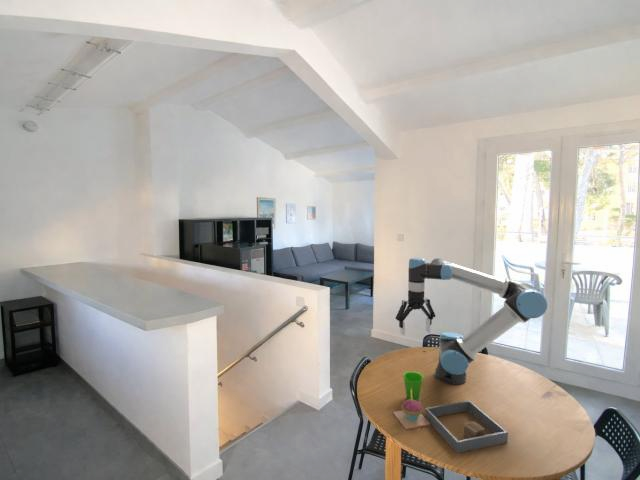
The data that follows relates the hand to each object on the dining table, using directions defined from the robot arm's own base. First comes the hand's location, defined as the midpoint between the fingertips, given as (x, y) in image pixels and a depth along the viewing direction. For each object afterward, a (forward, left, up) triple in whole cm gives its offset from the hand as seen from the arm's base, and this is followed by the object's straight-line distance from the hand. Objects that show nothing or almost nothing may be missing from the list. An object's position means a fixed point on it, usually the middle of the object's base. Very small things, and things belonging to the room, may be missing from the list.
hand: (415, 332), depth 166 cm
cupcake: (+15, +24, -26) cm, 39 cm away
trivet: (+15, +24, -27) cm, 39 cm away
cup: (+7, +11, -27) cm, 30 cm away
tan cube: (-2, +41, -27) cm, 49 cm away
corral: (-2, +35, -27) cm, 44 cm away
